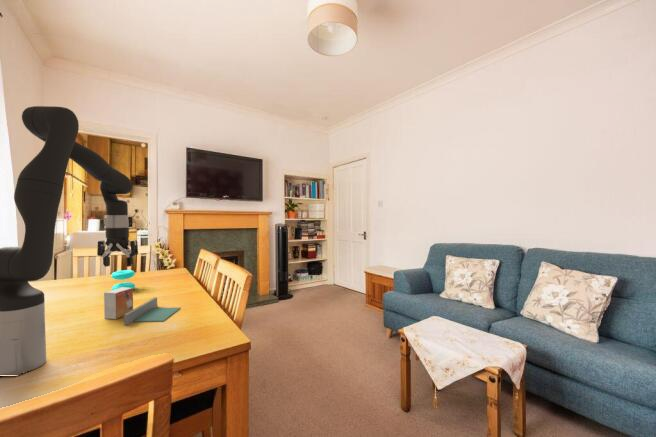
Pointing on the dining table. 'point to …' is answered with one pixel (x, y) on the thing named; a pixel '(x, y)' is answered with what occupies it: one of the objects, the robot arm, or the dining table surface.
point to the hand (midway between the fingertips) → (118, 266)
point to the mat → (157, 315)
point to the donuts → (123, 275)
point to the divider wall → (140, 311)
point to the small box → (118, 302)
